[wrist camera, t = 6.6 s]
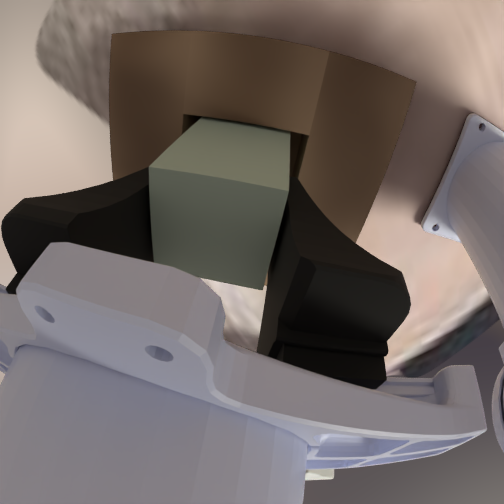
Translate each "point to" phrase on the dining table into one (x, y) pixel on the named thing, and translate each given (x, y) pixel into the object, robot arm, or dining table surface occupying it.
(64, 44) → the dining table surface
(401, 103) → the walnut socket block
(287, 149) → the sage peg
